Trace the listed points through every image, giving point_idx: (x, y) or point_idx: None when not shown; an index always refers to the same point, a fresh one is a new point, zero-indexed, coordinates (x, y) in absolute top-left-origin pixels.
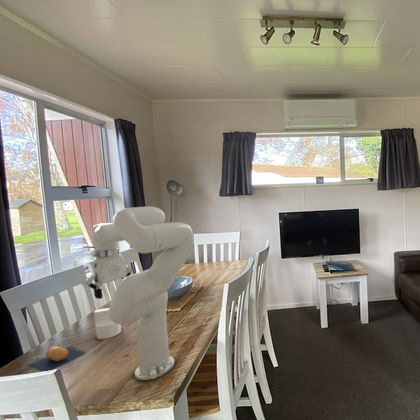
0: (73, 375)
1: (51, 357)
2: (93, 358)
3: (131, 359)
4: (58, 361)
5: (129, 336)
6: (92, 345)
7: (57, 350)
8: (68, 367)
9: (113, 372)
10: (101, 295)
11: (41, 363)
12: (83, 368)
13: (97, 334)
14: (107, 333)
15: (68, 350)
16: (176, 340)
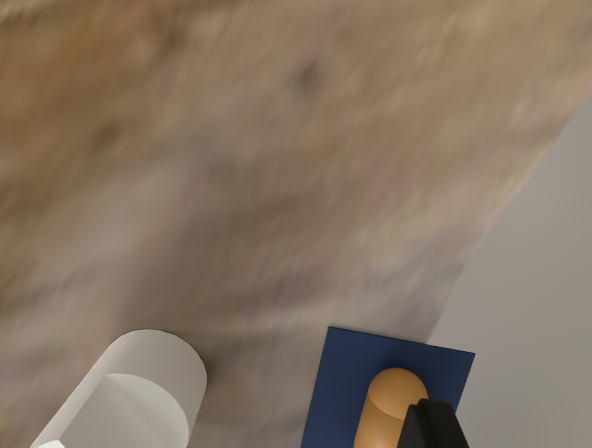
0: (489, 205)
1: None
2: (358, 242)
3: (338, 7)
4: None
5: (145, 242)
6: (262, 358)
7: None
8: (435, 292)
9: (455, 3)
10: (449, 437)
11: None
12: (436, 211)
13: (200, 405)
14: (182, 360)
15: (321, 424)
16: None
